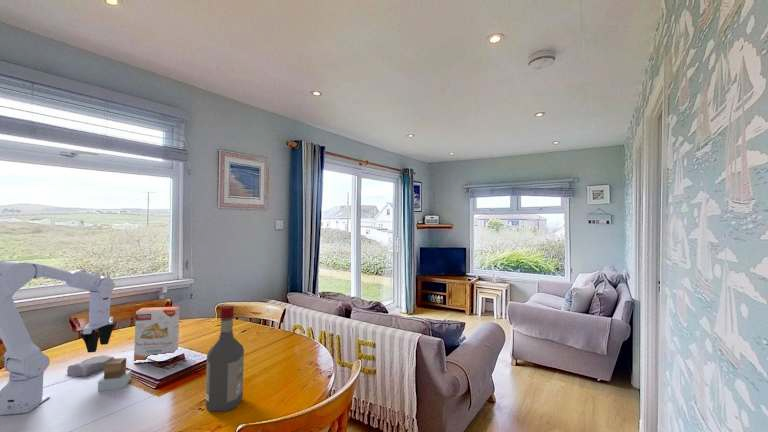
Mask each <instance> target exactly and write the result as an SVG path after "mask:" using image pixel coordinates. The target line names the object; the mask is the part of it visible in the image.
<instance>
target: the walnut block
mask: <svg viewBox="0 0 768 432" xmlns="http://www.w3.org/2000/svg"><path fill="white" fill-rule="evenodd" d="M126 371H127V357H120V358H119V357H118V358H114V359H111V360H109V361H108V362H107V363H105V365H104V369H103V376H104V379H112V378H120V377H121V376H122V375H123V374H124V373H125V372H126Z"/></svg>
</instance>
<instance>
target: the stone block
mask: <svg viewBox="0 0 768 432" xmlns="http://www.w3.org/2000/svg"><path fill="white" fill-rule="evenodd" d="M111 359H115V357H114V356H110V355H104V354H102V355H97V356H92V357H90V358H88V359H85V360H82V361H80V362H78V363H75V364H71V365H68V367H67V370H66V371H67V372H66V373H67V376H72V377H73V376H74V377H75V376H76V377H88V376H90V375H92V374H95V373H97V372H100V371H102V370H104V365H105V363H107V362H108V361H109V360H111Z"/></svg>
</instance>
